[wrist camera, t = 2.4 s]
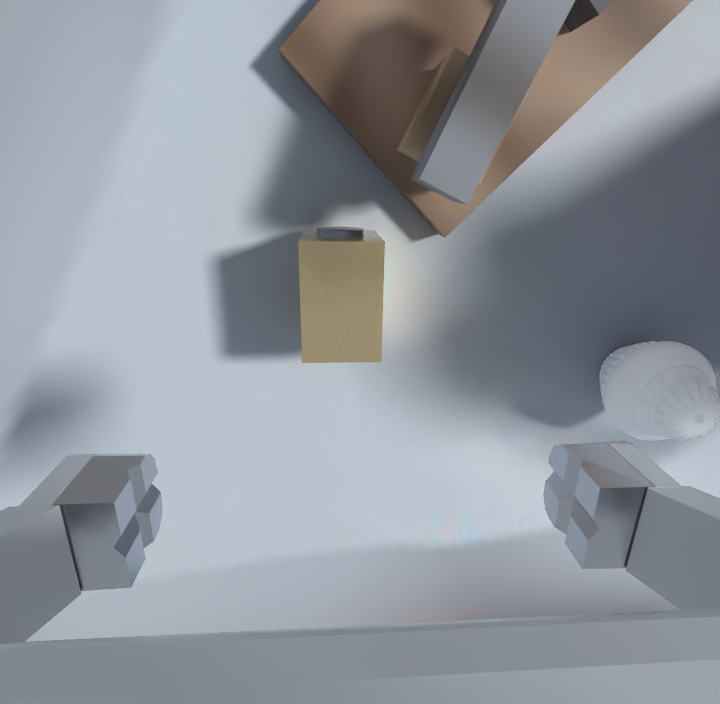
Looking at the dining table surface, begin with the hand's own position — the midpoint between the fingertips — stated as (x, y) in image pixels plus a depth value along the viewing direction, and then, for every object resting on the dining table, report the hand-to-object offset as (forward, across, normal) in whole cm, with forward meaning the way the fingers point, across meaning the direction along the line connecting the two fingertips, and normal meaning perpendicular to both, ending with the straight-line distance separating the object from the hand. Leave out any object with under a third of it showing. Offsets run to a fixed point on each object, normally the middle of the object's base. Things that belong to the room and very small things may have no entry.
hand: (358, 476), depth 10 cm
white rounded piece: (+19, -18, +6) cm, 27 cm away
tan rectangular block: (+19, 0, 0) cm, 19 cm away
